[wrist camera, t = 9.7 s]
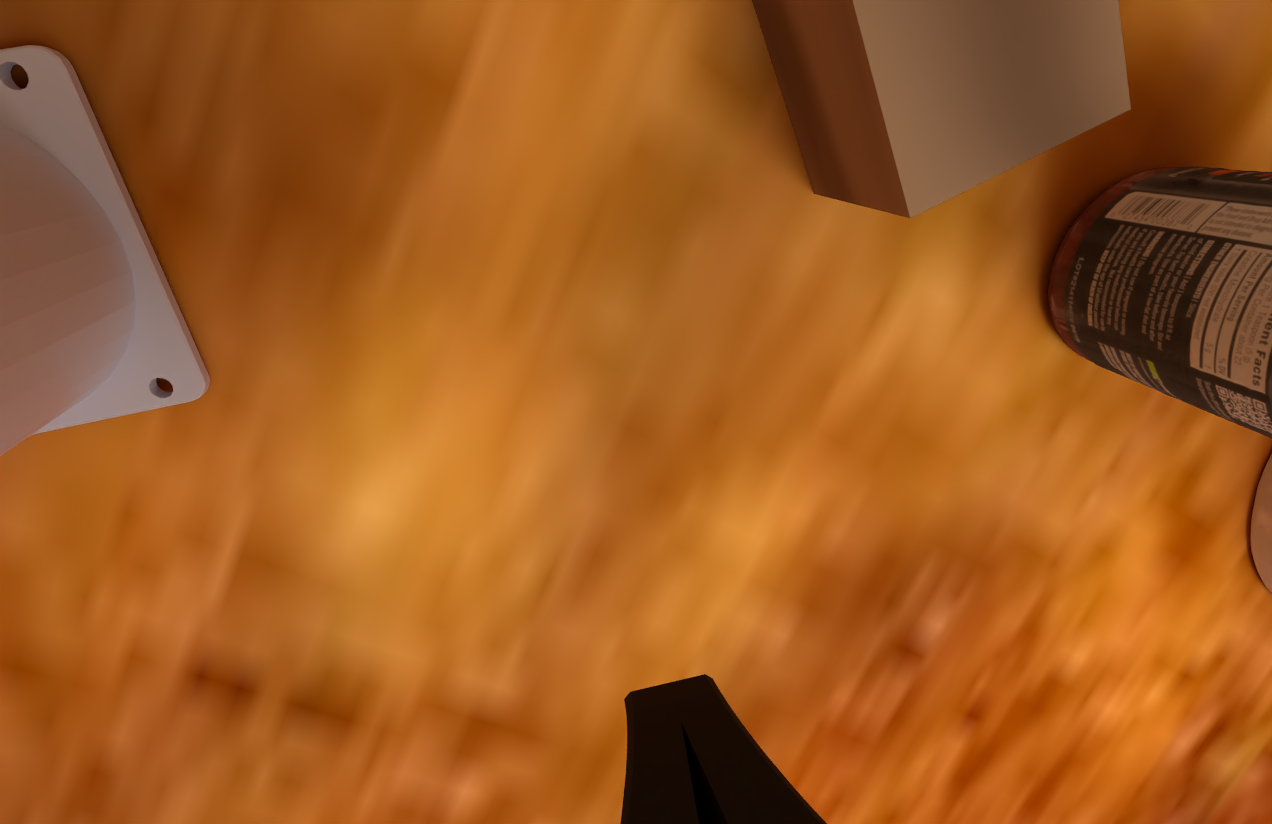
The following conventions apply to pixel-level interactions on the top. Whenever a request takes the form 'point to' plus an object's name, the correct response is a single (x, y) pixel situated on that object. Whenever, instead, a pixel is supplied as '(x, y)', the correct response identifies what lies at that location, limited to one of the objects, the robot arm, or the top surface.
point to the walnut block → (938, 89)
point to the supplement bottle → (1176, 287)
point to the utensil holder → (1263, 527)
